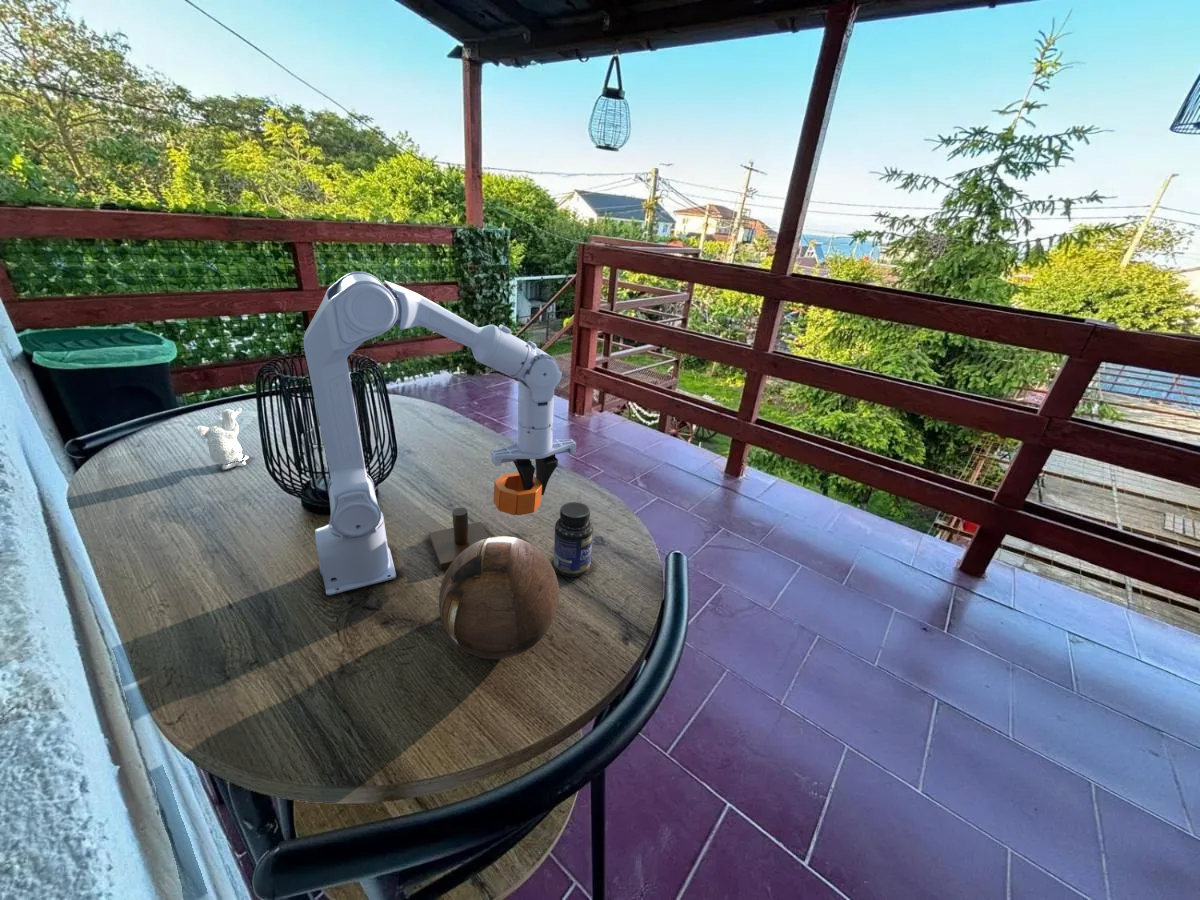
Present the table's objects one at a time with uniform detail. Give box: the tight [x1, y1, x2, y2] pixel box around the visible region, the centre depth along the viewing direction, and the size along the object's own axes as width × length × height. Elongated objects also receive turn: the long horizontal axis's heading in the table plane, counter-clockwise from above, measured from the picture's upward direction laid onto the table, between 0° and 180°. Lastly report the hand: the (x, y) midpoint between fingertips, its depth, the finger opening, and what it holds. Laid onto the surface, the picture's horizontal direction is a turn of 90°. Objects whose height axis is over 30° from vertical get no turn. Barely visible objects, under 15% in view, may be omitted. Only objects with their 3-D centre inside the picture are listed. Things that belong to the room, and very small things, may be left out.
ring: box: [493, 471, 542, 516], centre depth 83 cm, size 8×8×4 cm
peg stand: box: [428, 507, 490, 571], centre depth 80 cm, size 9×9×7 cm
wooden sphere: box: [438, 535, 560, 660], centre depth 62 cm, size 15×15×15 cm
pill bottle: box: [553, 501, 594, 578], centre depth 77 cm, size 6×6×11 cm
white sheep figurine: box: [196, 407, 250, 470], centre depth 98 cm, size 8×7×12 cm
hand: (534, 493), depth 84 cm, fingers closed on ring, 2 cm apart
